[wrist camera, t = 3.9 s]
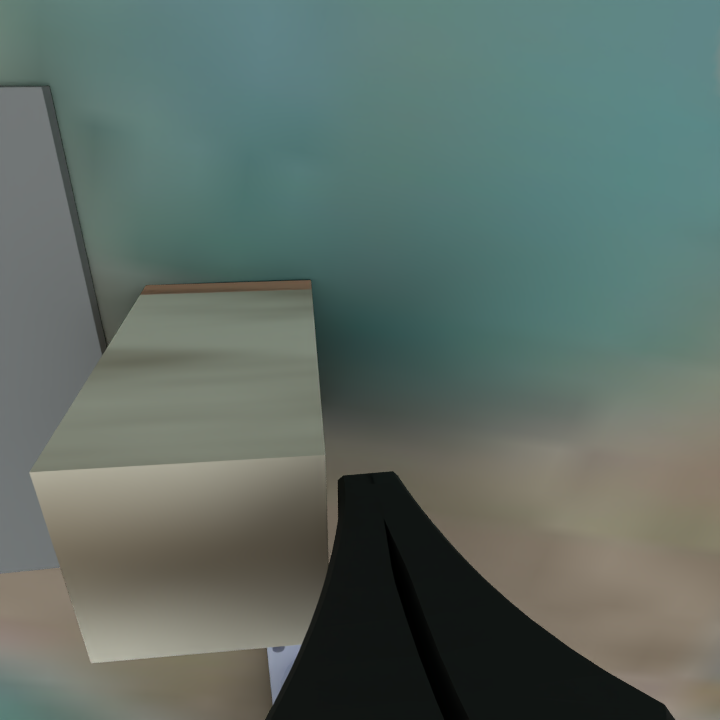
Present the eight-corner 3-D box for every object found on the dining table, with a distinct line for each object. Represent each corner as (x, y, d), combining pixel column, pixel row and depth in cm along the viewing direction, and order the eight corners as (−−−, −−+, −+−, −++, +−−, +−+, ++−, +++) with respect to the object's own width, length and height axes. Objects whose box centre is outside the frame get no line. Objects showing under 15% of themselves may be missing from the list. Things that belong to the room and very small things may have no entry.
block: (315, 415, 21) (330, 641, 13) (170, 422, 20) (90, 663, 12) (310, 280, 18) (325, 455, 10) (145, 285, 18) (29, 472, 10)
